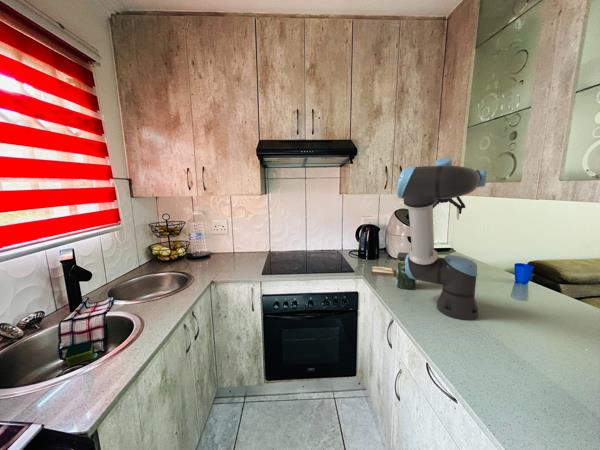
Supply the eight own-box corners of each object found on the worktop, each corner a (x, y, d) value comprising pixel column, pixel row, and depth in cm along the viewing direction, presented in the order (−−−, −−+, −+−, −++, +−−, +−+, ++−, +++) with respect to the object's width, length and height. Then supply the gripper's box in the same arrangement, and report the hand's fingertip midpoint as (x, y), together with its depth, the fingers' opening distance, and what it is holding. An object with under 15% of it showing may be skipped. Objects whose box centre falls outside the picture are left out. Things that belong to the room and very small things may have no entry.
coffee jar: (414, 285, 135) (416, 251, 132) (415, 290, 128) (417, 255, 125) (395, 282, 139) (397, 250, 136) (395, 288, 131) (396, 254, 128)
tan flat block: (394, 276, 148) (394, 273, 147) (371, 274, 151) (371, 271, 151) (392, 270, 158) (392, 267, 158) (371, 268, 162) (371, 266, 161)
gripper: (469, 180, 131) (468, 213, 142) (417, 187, 141) (419, 217, 152) (473, 186, 125) (471, 221, 136) (418, 193, 136) (420, 225, 146)
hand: (444, 219), depth 144 cm, fingers open, 13 cm apart
